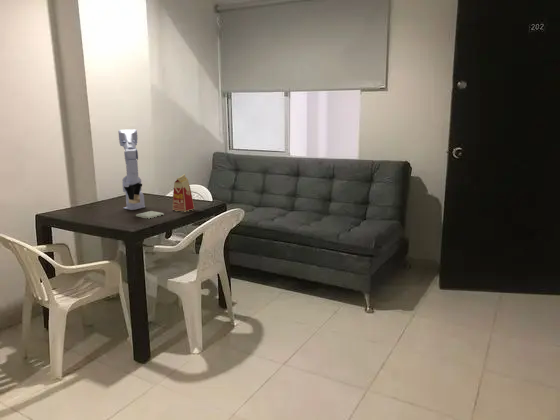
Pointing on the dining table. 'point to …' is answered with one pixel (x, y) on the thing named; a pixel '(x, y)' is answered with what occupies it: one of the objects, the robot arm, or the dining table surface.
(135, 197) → the maple block
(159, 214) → the coaster
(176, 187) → the milk carton
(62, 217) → the dining table surface
